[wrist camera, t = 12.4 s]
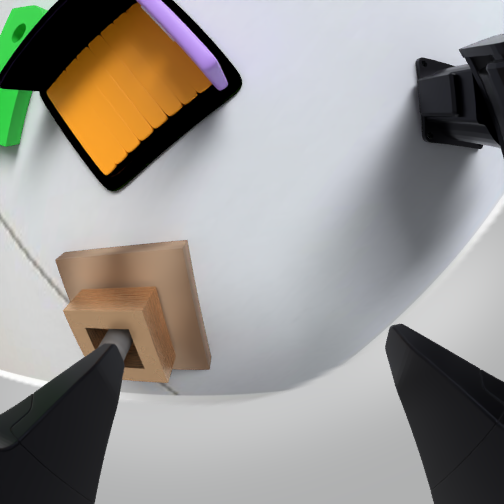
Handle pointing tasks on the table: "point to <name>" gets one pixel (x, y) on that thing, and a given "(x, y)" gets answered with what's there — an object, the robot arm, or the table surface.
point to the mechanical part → (3, 46)
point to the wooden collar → (125, 317)
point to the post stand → (146, 275)
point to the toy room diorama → (121, 79)
